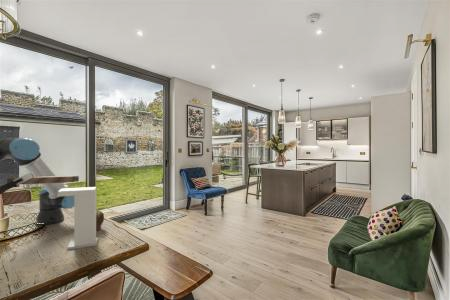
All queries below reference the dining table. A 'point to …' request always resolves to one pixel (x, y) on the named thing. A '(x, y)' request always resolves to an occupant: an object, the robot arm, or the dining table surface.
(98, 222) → the shell
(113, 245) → the dining table surface
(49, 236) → the dining table surface
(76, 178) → the lever
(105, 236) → the dining table surface
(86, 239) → the white upright panel
